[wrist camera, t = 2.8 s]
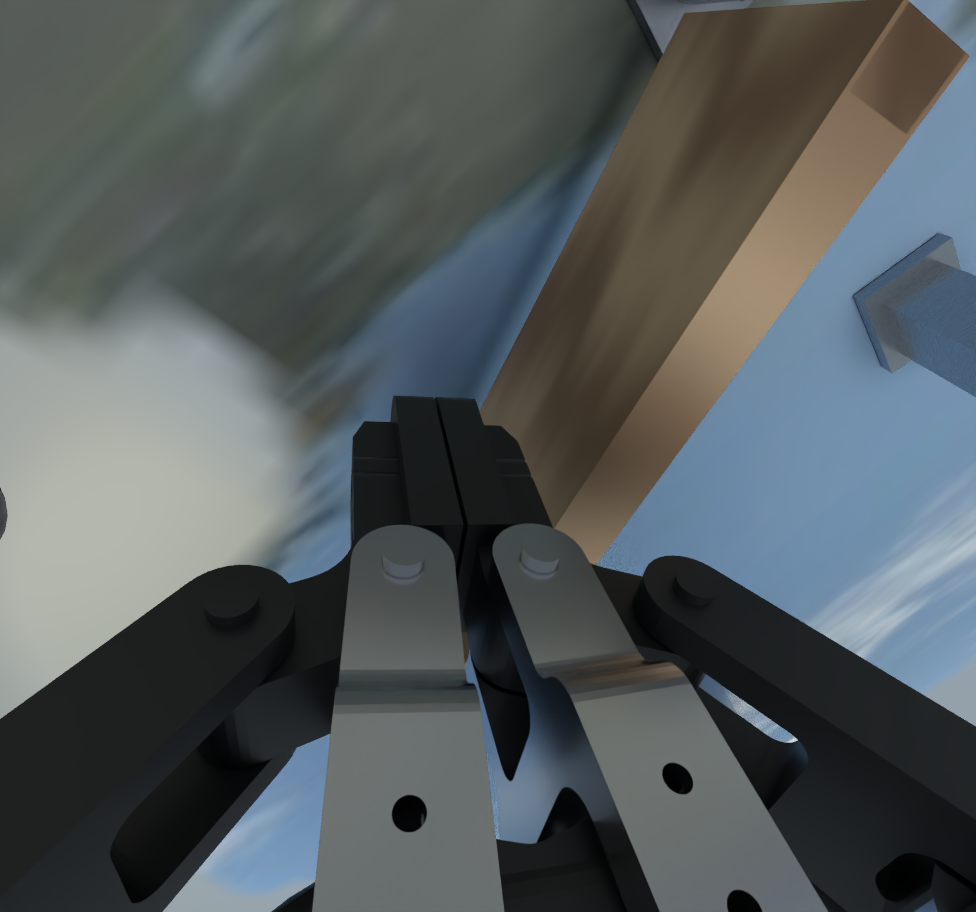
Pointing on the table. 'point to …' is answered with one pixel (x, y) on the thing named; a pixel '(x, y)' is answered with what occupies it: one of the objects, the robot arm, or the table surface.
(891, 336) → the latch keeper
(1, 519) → the thermos bottle
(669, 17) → the hinge post
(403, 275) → the table surface
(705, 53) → the bar
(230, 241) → the table surface
